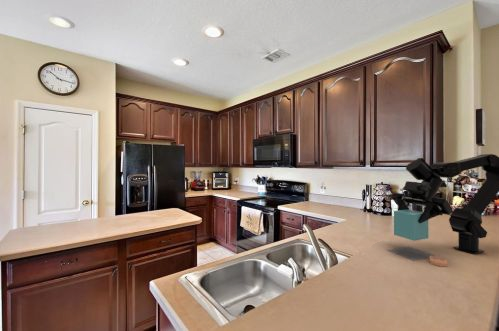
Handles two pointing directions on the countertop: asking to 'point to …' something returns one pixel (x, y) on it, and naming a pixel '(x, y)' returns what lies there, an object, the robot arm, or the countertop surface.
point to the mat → (411, 253)
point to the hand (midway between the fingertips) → (408, 219)
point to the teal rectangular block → (410, 225)
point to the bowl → (438, 261)
